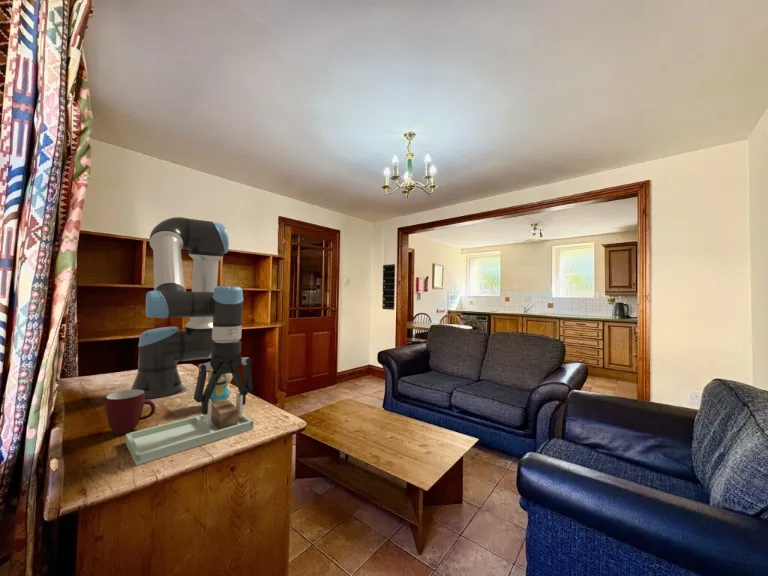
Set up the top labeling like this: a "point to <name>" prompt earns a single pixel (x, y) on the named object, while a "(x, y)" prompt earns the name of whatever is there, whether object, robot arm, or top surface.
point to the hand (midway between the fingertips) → (223, 420)
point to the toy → (220, 387)
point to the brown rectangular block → (224, 414)
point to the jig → (178, 437)
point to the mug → (126, 410)
